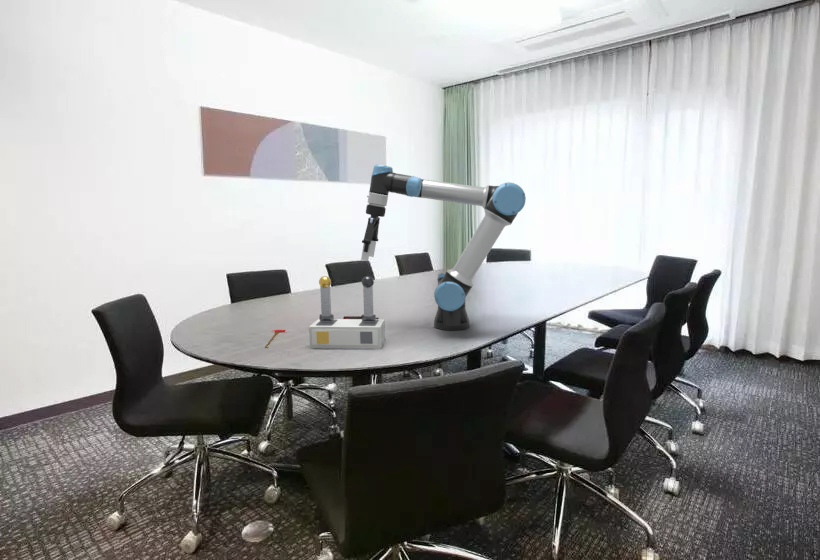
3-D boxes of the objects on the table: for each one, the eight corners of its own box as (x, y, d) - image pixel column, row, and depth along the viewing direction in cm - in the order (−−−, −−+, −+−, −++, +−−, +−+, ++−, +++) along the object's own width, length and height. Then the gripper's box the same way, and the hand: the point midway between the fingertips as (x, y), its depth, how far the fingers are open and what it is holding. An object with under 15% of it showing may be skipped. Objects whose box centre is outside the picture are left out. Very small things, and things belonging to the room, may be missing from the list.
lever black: (376, 319, 166) (375, 275, 164) (374, 322, 162) (373, 276, 160) (363, 319, 167) (362, 275, 164) (361, 322, 162) (360, 276, 160)
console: (385, 339, 171) (384, 318, 170) (380, 349, 159) (379, 326, 158) (319, 338, 173) (318, 318, 172) (309, 348, 161) (308, 326, 160)
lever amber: (334, 319, 168) (332, 275, 165) (331, 322, 163) (329, 277, 161) (322, 319, 168) (320, 275, 166) (318, 322, 164) (316, 277, 161)
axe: (294, 331, 187) (271, 330, 188) (294, 329, 187) (271, 328, 188) (267, 350, 162) (241, 349, 163) (267, 347, 162) (241, 347, 163)
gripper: (372, 203, 185) (363, 253, 189) (361, 203, 161) (352, 260, 165) (389, 207, 185) (381, 256, 189) (381, 207, 161) (371, 264, 164)
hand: (367, 258), depth 177 cm, fingers open, 13 cm apart
